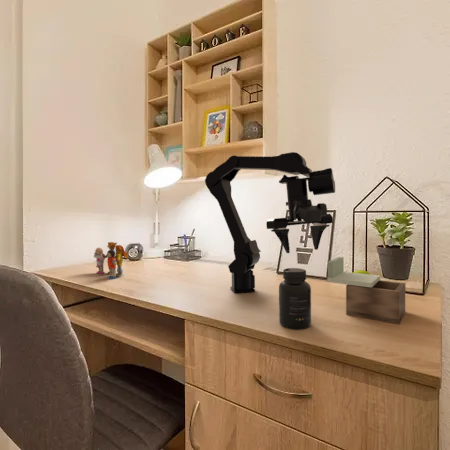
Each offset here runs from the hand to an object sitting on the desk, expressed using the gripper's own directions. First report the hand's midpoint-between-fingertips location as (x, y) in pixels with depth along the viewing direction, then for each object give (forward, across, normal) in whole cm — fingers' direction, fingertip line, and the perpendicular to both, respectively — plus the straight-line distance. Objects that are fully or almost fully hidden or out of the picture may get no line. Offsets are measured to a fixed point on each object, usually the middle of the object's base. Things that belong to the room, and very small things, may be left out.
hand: (302, 251), depth 87 cm
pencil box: (+15, +8, -18) cm, 24 cm away
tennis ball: (+15, +18, -1) cm, 23 cm away
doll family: (+7, -56, +55) cm, 79 cm away
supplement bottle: (+14, -14, -18) cm, 26 cm away
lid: (+7, +5, -14) cm, 17 cm away
